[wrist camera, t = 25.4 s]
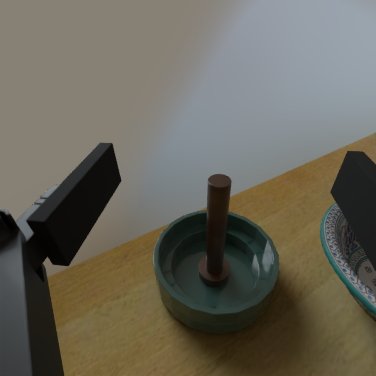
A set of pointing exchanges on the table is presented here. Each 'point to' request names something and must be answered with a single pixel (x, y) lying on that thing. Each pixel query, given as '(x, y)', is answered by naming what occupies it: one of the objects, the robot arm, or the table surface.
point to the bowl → (349, 259)
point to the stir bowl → (222, 295)
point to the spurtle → (216, 232)
